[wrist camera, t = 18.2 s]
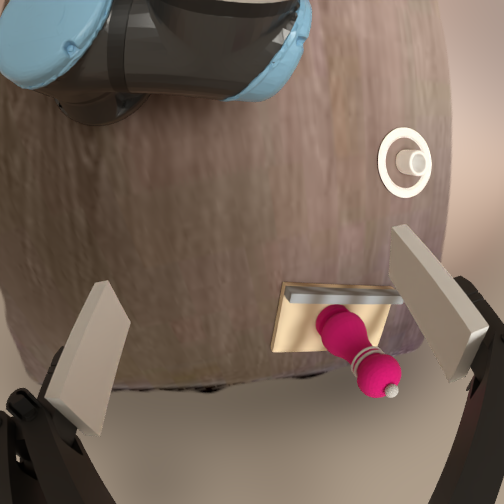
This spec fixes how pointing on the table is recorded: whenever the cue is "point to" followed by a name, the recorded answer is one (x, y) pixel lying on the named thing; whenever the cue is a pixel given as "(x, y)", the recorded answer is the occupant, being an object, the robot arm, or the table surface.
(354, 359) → the pepper mill
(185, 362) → the table surface
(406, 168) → the candle holder
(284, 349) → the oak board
